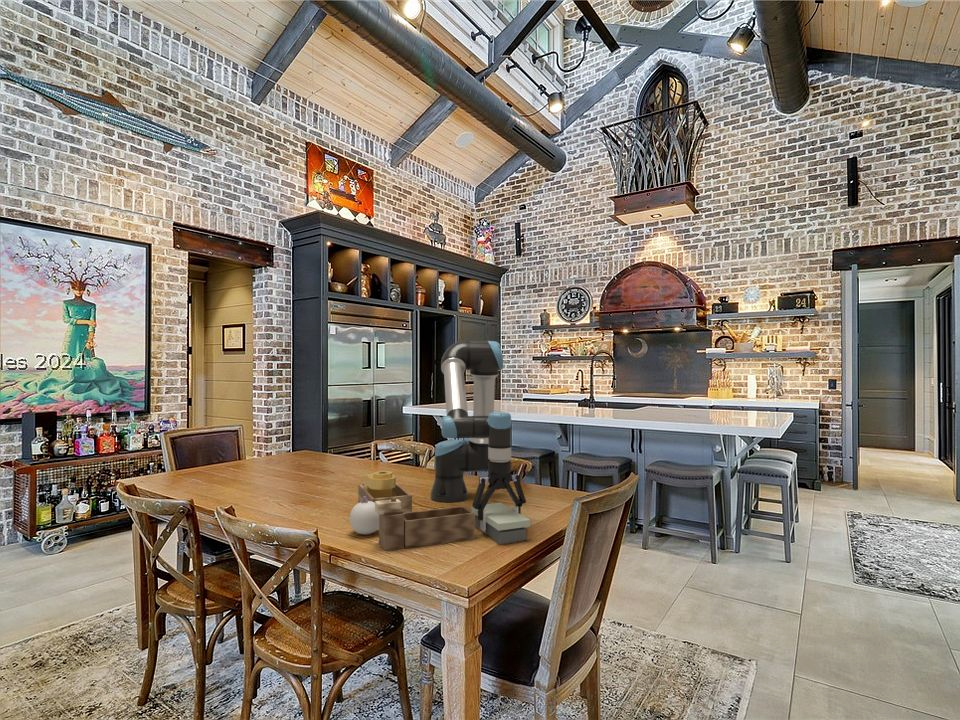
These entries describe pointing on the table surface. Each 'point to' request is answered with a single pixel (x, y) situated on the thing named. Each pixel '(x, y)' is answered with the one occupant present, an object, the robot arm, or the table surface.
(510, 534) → the block
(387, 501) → the beige notched block
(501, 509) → the lid
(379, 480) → the tan round stepped piece
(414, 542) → the toolbox
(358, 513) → the ornament
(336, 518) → the table surface
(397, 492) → the box
